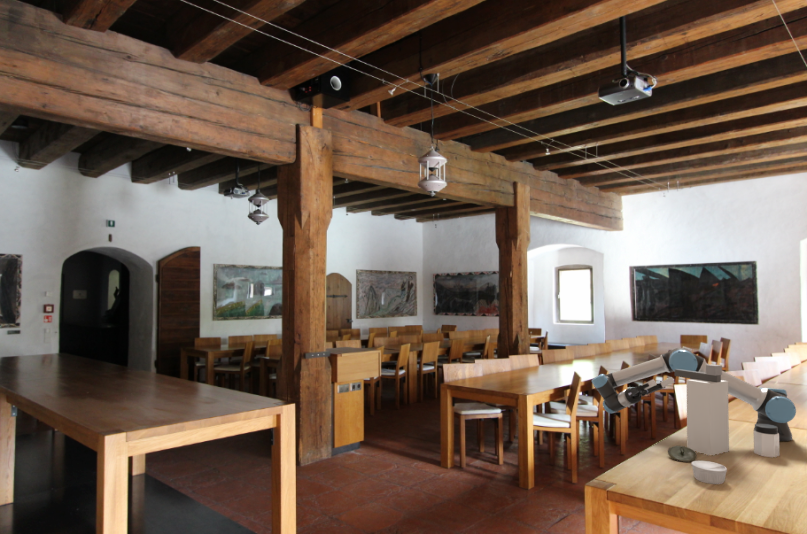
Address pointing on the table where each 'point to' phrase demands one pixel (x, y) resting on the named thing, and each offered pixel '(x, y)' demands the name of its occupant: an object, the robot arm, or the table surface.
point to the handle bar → (711, 373)
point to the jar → (766, 440)
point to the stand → (707, 416)
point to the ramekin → (709, 472)
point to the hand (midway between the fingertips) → (664, 380)
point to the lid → (682, 453)
